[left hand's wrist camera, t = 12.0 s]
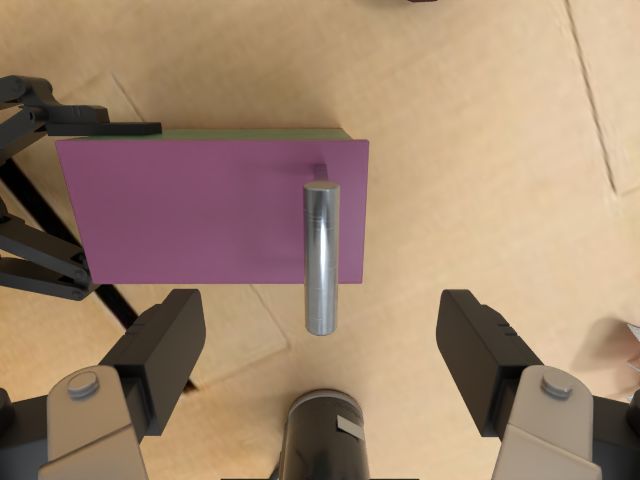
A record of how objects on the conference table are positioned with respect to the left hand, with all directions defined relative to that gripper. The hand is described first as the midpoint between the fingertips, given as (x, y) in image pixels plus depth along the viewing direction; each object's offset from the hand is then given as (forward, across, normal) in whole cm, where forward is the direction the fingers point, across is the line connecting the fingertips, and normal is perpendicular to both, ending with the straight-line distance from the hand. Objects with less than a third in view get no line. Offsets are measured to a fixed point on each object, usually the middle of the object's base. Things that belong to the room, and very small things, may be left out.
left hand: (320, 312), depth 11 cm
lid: (+11, +6, 0) cm, 13 cm away
